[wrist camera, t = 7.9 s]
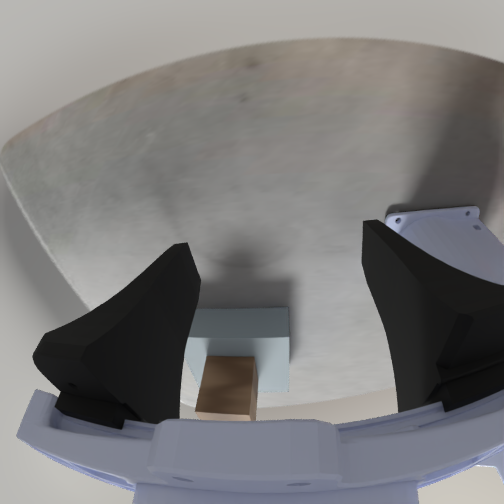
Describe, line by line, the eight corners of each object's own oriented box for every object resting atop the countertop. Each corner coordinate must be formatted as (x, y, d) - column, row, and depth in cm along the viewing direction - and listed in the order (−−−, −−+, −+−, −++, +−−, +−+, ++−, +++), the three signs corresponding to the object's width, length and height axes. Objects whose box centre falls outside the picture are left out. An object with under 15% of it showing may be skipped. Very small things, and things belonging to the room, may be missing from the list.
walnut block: (254, 356, 25) (249, 415, 20) (258, 381, 28) (254, 433, 23) (206, 355, 26) (194, 411, 21) (215, 379, 28) (207, 430, 23)
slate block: (288, 304, 27) (289, 337, 24) (288, 363, 33) (288, 391, 29) (184, 305, 28) (175, 336, 25) (205, 362, 34) (200, 390, 30)
